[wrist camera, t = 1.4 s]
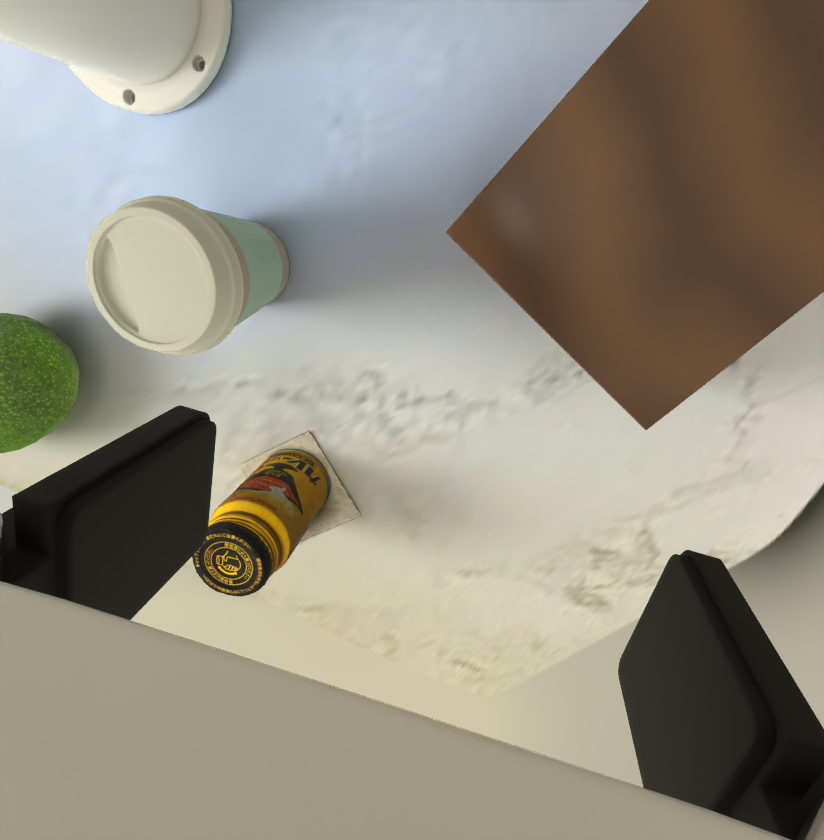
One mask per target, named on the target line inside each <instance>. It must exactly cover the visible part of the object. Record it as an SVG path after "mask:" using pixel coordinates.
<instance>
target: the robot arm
mask: <svg viewBox="0 0 824 840" xmlns="http://www.w3.org/2000/svg"><path fill="white" fill-rule="evenodd" d="M231 17H232V4H231V0H0V40H3V41H6V42H8V43H11V44H14V45H17V46H20V47H23V48H26V49H29V50H31V51H34V52H37V53H40V54H43V55H46V56H49V57H52V58H55V59H57V60H60V61H63V62H66V63H67V64H68V65H69V67H70V68H71V70H72V71H73V72H74V73H75V75H76V76H77V77H78V78H79V79H80V80H81V81H82V82H83V83H84V84H85V85H86V87H88V88H89V89H90V90H91V91H93V92H94V93H95V94H97V95H98V96H99V97H100V98H102V99H104V100H105V101H107V102H109V103H111V104H113V105H115V106H117V107H120V108H123V109H126V110H129V111H132V112H137V113H143V114H149V115H153V114H166V113H169V112H173V111H176V110H179V109H182V108H183V107H185V106H186V105H188V104H190V103H191V102H193V101H195V100H196V99H197V98H198V97H199V96H200V95H201V94H202V93H203V92H204V91H205V90H206V89H207V88H208V87H209V85H210V84H211V82H212V81H213V79H214V77H215V76H216V74H217V73H218V71H219V69H220V66H221V64H222V61H223V59H224V57H225V54H226V50H227V46H228V41H229V37H230V32H231ZM204 64H205V68H204V69H203V65H204ZM215 439H216V425H215V423H214V422H212V421H210V417H209V415H208V414H207V413H205V412H202V411H198V410H195V409H191V408H188V407H184V406H177V407H175V408H173V409H171V410H169V411H167V412H165V413H164V414H162V415H160V416H158V417H156V418H154V419H153V420H151V421H149V422H147V423H145V424H143V425H142V426H140V427H138V428H136V429H134V430H133V431H131V432H129V433H127V434H125V435H123V436H122V437H120V438H118V439H116V440H114V441H112V442H111V443H109V444H107V445H105V446H103V447H101V448H100V449H98V450H96V451H94V452H92V453H90V454H89V455H87V456H85V457H83V458H81V459H79V460H78V461H76V462H74V463H72V464H70V465H68V466H67V467H65V468H63V469H61V470H59V471H57V472H56V473H54V474H52V475H50V476H48V477H46V478H45V479H43V480H41V481H39V482H37V483H36V484H34V485H32V486H30V487H28V488H26V489H25V490H23V491H21V492H19V493H17V494H15V495H14V496H12V500H13V508H11V509H9V510H8V511H6V512H4V513H3V514H1V513H0V840H824V729H823V727H822V726H821V724H820V722H819V721H818V719H817V717H816V716H815V714H814V712H813V711H812V709H811V707H810V706H809V704H808V702H807V701H806V699H805V697H804V696H803V694H802V693H801V691H800V689H799V688H798V686H797V684H796V683H795V681H794V679H793V678H792V676H791V674H790V673H789V671H788V669H787V668H786V666H785V664H784V663H783V661H782V659H781V658H780V656H779V654H778V653H777V651H776V650H775V648H774V646H773V645H772V643H771V641H770V640H769V638H768V636H767V635H766V633H765V631H764V630H763V628H762V626H761V625H760V623H759V622H758V620H757V618H756V617H755V615H754V613H753V612H752V610H751V608H750V607H749V605H748V603H747V602H746V600H745V599H744V597H743V595H742V593H741V592H740V590H739V588H738V587H737V585H736V584H735V582H734V580H733V579H732V577H731V575H730V574H729V572H728V570H727V569H726V567H725V565H724V564H723V562H722V561H721V560H720V559H718V558H714V557H711V556H707V555H704V554H700V553H697V552H693V551H690V550H686V551H684V552H683V553H682V554H681V555H677V554H675V555H673V556H672V557H671V558H670V559H669V561H668V563H667V565H666V567H665V569H664V571H663V573H662V575H661V577H660V579H659V581H658V583H657V585H656V587H655V589H654V591H653V593H652V595H651V597H650V599H649V601H648V603H647V605H646V607H645V609H644V612H643V614H642V616H641V618H640V620H639V622H638V624H637V626H636V628H635V630H634V632H633V634H632V636H631V638H630V640H629V642H628V644H627V646H626V648H625V650H624V652H623V654H622V657H621V659H620V663H619V670H618V674H619V680H620V685H621V689H622V694H623V698H624V702H625V707H626V712H627V716H628V720H629V725H630V729H631V733H632V738H633V743H634V747H635V751H636V756H637V760H638V765H639V769H640V774H641V778H642V782H643V787H644V788H642V787H639V786H636V785H633V784H630V783H627V782H624V781H621V780H618V779H615V778H612V777H609V776H606V775H603V774H600V773H597V772H594V771H591V770H588V769H585V768H582V767H579V766H576V765H573V764H570V763H567V762H564V761H561V760H558V759H555V758H552V757H549V756H546V755H543V754H540V753H536V752H534V751H531V750H528V749H525V748H522V747H519V746H516V745H512V744H509V743H506V742H503V741H500V740H497V739H494V738H491V737H488V736H484V735H482V734H479V733H476V732H473V731H469V730H466V729H463V728H460V727H457V726H454V725H451V724H448V723H445V722H442V721H439V720H436V719H433V718H430V717H426V716H424V715H421V714H417V713H414V712H411V711H408V710H405V709H402V708H399V707H396V706H392V705H390V704H387V703H384V702H381V701H378V700H374V699H372V698H368V697H365V696H362V695H359V694H356V693H353V692H350V691H347V690H344V689H341V688H338V687H335V686H332V685H328V684H325V683H322V682H319V681H316V680H313V679H310V678H307V677H304V676H301V675H298V674H295V673H291V672H289V671H285V670H282V669H279V668H276V667H273V666H270V665H267V664H264V663H261V662H258V661H255V660H252V659H249V658H245V657H242V656H239V655H236V654H233V653H230V652H227V651H224V650H221V649H218V648H215V647H212V646H208V645H205V644H202V643H199V642H196V641H193V640H190V639H186V638H183V637H180V636H177V635H174V634H171V633H168V632H164V631H161V630H158V629H155V628H152V627H149V626H146V625H143V624H140V623H137V622H133V621H130V620H131V619H132V617H134V616H135V615H136V613H137V612H138V611H139V610H140V609H141V608H142V607H143V606H144V605H145V604H146V603H147V602H148V601H149V600H150V599H151V598H152V597H153V596H154V595H155V594H156V593H157V592H158V591H159V590H160V589H161V588H162V586H164V584H165V583H166V582H167V581H168V580H169V579H170V578H171V577H172V576H173V575H174V574H175V573H176V572H177V571H178V570H179V569H180V568H181V567H182V566H183V565H184V564H185V563H186V562H187V561H188V560H189V559H190V558H191V557H192V556H193V555H194V554H195V553H196V551H197V550H198V549H199V548H200V547H201V546H202V544H203V543H204V541H205V538H206V535H207V531H208V521H209V510H210V498H211V486H212V474H213V463H214V451H215Z"/></svg>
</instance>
